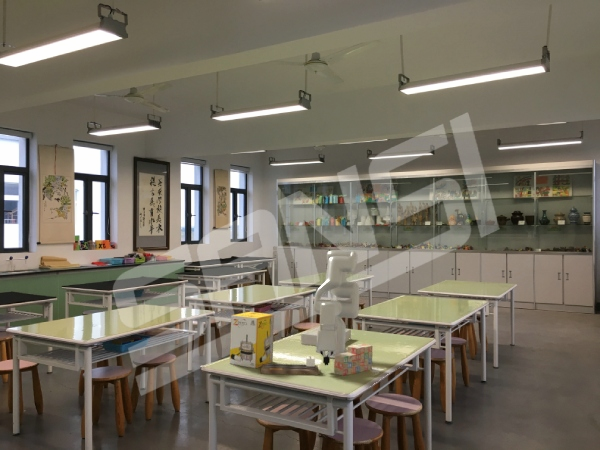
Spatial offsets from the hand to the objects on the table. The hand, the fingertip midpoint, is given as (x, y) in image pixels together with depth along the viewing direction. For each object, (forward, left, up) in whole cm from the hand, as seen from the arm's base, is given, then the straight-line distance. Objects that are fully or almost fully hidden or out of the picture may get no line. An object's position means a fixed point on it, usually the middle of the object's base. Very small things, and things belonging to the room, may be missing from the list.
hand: (326, 364), depth 239 cm
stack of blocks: (-14, -3, -4) cm, 15 cm away
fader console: (+18, 0, -4) cm, 18 cm away
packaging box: (+38, -16, -4) cm, 41 cm away
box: (-7, -73, -4) cm, 73 cm away
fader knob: (+8, 0, -1) cm, 8 cm away
